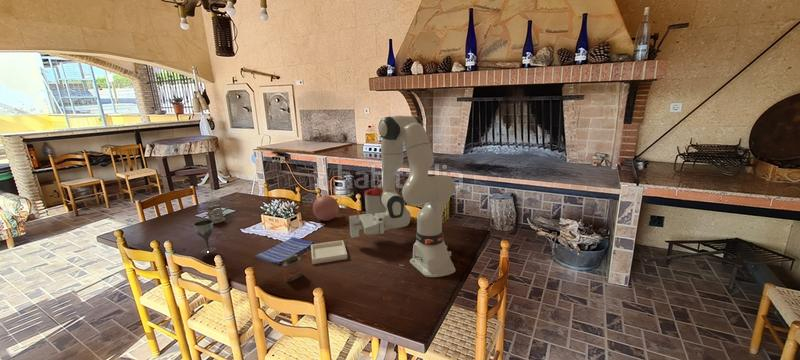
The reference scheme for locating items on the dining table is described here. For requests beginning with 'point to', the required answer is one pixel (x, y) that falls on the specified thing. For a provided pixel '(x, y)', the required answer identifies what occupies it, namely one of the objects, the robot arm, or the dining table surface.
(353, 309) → the dining table surface
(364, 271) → the dining table surface
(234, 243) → the dining table surface
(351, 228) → the block
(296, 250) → the dish towel
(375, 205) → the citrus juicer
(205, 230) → the wine glass
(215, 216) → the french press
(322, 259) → the tray
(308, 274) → the dining table surface
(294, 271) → the lighter
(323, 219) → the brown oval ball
